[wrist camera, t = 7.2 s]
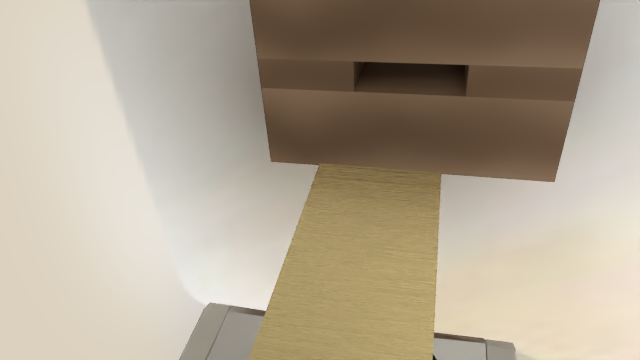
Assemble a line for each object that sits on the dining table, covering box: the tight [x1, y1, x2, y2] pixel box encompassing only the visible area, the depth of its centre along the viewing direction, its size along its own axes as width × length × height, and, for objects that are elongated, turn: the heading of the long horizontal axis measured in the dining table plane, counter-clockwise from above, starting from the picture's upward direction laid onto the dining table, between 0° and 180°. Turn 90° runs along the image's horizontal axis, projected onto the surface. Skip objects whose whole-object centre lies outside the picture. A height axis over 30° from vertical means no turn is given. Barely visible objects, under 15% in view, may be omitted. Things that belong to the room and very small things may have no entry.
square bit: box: [248, 164, 441, 360], centre depth 11 cm, size 3×3×8 cm
